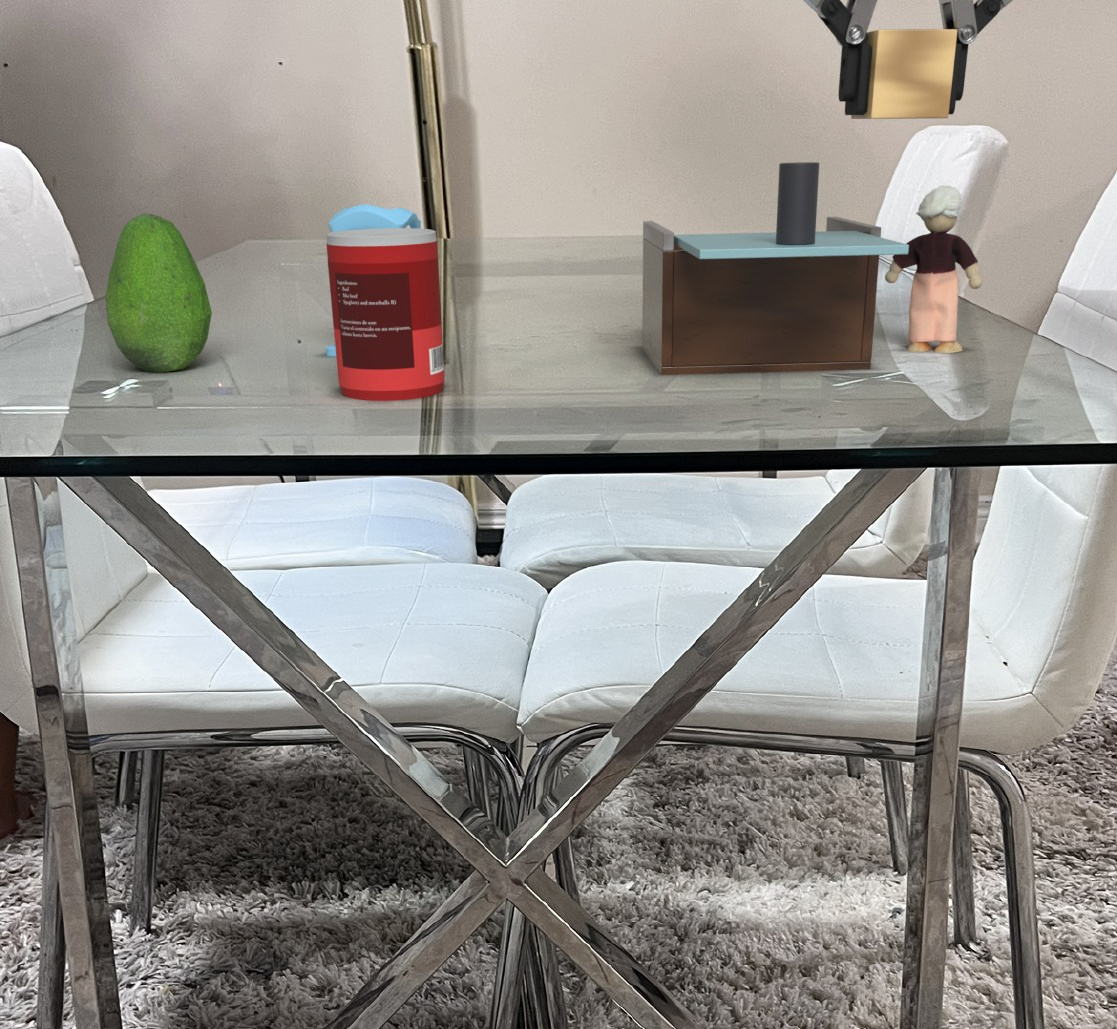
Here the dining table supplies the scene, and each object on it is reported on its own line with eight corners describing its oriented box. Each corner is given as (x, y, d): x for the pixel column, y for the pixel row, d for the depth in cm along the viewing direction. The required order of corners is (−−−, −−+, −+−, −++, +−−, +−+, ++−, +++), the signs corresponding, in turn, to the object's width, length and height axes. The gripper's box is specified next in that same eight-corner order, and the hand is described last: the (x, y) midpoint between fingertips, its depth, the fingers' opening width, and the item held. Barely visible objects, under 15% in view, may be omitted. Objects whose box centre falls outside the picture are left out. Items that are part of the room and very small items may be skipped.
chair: (443, 346, 119) (435, 200, 114) (411, 360, 111) (401, 205, 106) (362, 344, 120) (351, 200, 115) (325, 358, 113) (311, 206, 108)
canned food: (423, 381, 102) (414, 226, 97) (462, 397, 95) (454, 232, 90) (325, 390, 99) (311, 231, 94) (358, 408, 92) (344, 237, 87)
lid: (855, 239, 100) (861, 158, 98) (908, 254, 88) (916, 161, 85) (672, 243, 100) (674, 162, 98) (699, 259, 87) (701, 166, 85)
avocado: (185, 382, 103) (163, 215, 98) (97, 379, 105) (71, 216, 100) (235, 366, 110) (217, 210, 105) (151, 363, 112) (129, 210, 107)
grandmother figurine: (975, 349, 111) (993, 184, 105) (974, 356, 107) (992, 186, 102) (881, 347, 113) (893, 184, 107) (876, 354, 109) (889, 187, 104)
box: (828, 345, 114) (836, 216, 110) (870, 372, 102) (881, 227, 97) (642, 350, 114) (643, 221, 110) (661, 377, 101) (663, 232, 97)
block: (924, 118, 89) (932, 34, 87) (948, 118, 85) (958, 29, 83) (850, 119, 89) (857, 34, 87) (870, 119, 85) (878, 29, 82)
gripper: (801, -241, 75) (781, 115, 83) (1096, -239, 76) (1049, 113, 84) (774, -211, 82) (757, 116, 90) (1045, -210, 83) (1006, 114, 91)
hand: (898, 111), depth 87 cm, fingers closed on block, 5 cm apart
